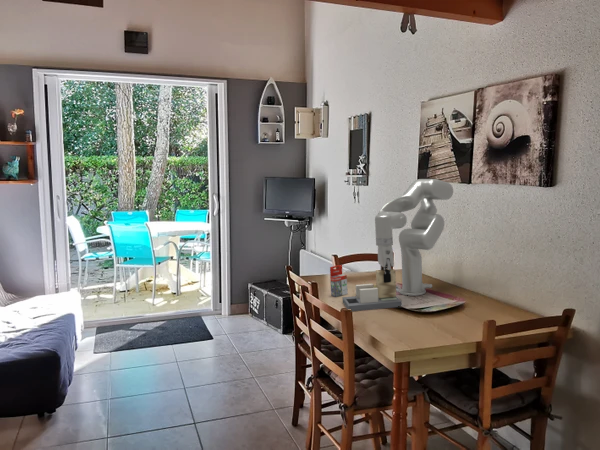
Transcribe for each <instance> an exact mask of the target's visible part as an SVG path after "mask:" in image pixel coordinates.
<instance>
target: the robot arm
mask: <svg viewBox="0 0 600 450" xmlns="http://www.w3.org/2000/svg"><path fill="white" fill-rule="evenodd" d="M453 195H454V188H453V185H452V184H451V183H450V182H447V181H445V180H444V181H443V180H440V179H435V178H419V179H418V178H417V179H415V180H413V182H412V183H411V184H410V185H409V187H408V188H407V189H406V190H405V191H404V192H403V194H401V196H398V197H396V198H394V199H393V200H390V201H389V202H386V203H385V204H384V205H383V206H382V207H381V209H380V210H379V211H378V213H377V214H376V215H375V217H374V226H375V245H376V246H377V262H378V264H379V266H380V269H379V270H384V283H388V282H391V269H392V268H394V266H395V262H394V252H393V251H394V250H393V245H394V242H393V241H394V239H393V235H394V234H393V229H394V230H398V229H402V228H404V227H405V226H406V225H407V221H408V217H407V215H406V214H404V213H405V212H408V211H411V210H414V209H415V208H416V207H417V206H418V205H419V204H420V207H419V208H418V210H417V211H416V213H415V215H414V216H413V217H412V220H411V222H410V228H405V229H402V230H401V231H400V232H399V234H398V243H399V247H400V253H401V279H402V280H401V282H402V287H401V288H399V291H398V292H399V294H400V295H402V296H407V295H408V296H407V297H409V296H411V297H415V296H416V297H418V296H423V295H425V294H426V292H427V291H426V289H432V288H433V284H432V283H423V267H422V266H423V265H422V264H423V260H422V254H421V252H420V250H422V251H428V250H431V249H433V248H434V246H435V245H436V243H437V242H438V240H439V238H440V236H441V235H442V233H443V230H444V229H445V219H444V217H443V216H442V215H441V214H439V213H438V209H437V206H436V205H435V203H434V200H435V201H436V200H439V201H444V200H445V201H447V200H450V199H451V198H452V197H453Z"/></svg>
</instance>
